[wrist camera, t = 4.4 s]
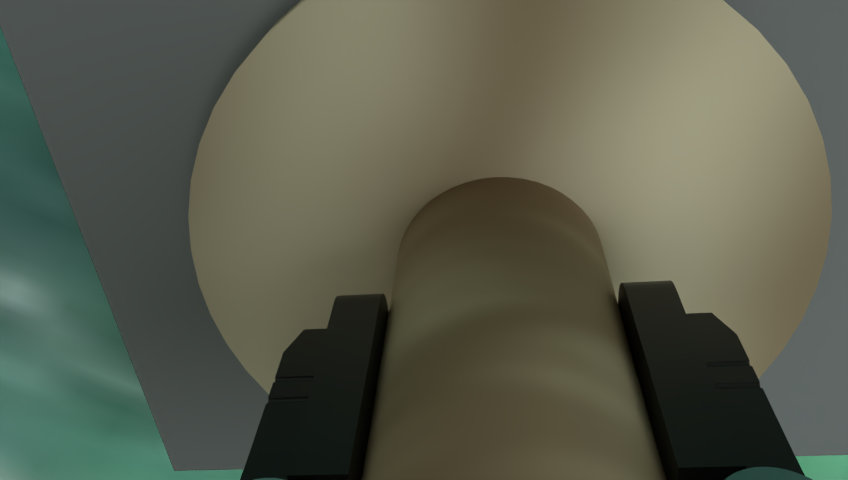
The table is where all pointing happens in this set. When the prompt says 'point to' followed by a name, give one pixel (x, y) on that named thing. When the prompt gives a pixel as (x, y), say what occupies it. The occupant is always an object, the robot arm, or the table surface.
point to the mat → (173, 166)
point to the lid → (508, 212)
